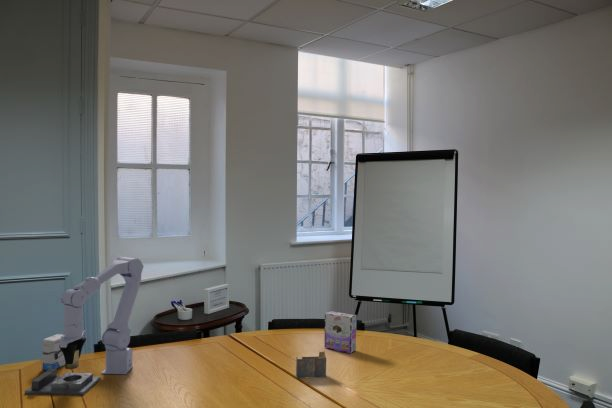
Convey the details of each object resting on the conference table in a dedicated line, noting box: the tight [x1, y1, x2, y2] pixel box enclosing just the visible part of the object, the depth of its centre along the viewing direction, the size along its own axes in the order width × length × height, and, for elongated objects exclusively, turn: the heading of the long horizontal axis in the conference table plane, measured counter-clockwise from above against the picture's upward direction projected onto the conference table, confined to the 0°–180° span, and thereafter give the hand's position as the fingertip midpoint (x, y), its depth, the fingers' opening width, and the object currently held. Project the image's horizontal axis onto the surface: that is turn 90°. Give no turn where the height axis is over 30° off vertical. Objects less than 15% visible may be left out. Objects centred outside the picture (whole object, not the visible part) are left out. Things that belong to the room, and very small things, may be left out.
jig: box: [24, 368, 101, 396], centre depth 171 cm, size 20×14×4 cm
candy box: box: [323, 310, 358, 354], centre depth 218 cm, size 14×6×16 cm, turn 58°
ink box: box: [41, 333, 65, 371], centre depth 190 cm, size 8×5×12 cm, turn 168°
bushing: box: [64, 349, 80, 370], centre depth 171 cm, size 4×4×6 cm
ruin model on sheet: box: [295, 350, 327, 379], centre depth 186 cm, size 11×3×10 cm, turn 99°
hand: (72, 361), depth 171 cm, fingers closed on bushing, 4 cm apart
